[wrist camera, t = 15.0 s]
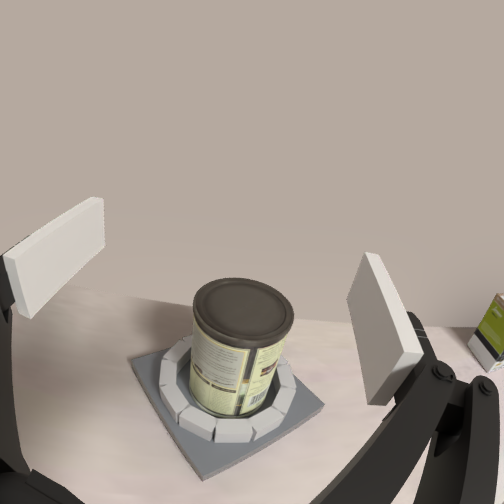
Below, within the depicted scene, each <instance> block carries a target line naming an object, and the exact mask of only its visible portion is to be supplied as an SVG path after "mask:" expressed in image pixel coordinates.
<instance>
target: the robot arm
mask: <svg viewBox="0 0 504 504" xmlns="http://www.w3.org/2000/svg"><path fill="white" fill-rule="evenodd" d="M104 247H105V235H104V200H103V198H97V197H91V198H89V199H87V200H85V201H84V202H82V203H80V204H78V205H77V206H75V207H74V208H72V209H70V210H69V211H67V212H65V213H64V214H62V215H60V216H59V217H57V218H56V219H54V220H53V221H51V222H49V223H48V224H47V225H45V226H43V227H42V228H40V229H39V230H37V231H36V232H34V233H33V234H31V235H29V236H27V237H26V238H25V239H23V240H22V241H21V242H19V243H17V244H16V246H13V247H12V248H10V249H9V250H8V251H6V252H5V253H4V254H2V255H1V256H0V504H85V503H83V502H82V501H81V500H80V499H78V498H77V497H76V496H75V495H73V494H72V493H71V492H70V491H69V490H67V489H66V488H65V487H63V486H61V485H60V484H58V483H56V482H54V481H52V480H51V479H49V478H47V477H46V476H44V475H42V474H41V473H39V472H37V471H36V470H34V469H32V471H31V472H30V469H29V467H28V465H27V463H26V461H25V460H24V458H23V455H22V453H21V448H20V443H19V437H18V431H17V424H16V416H15V408H14V397H13V384H12V360H11V336H12V310H11V307H10V306H11V305H12V304H13V303H14V302H15V303H16V306H17V309H18V312H19V314H21V315H23V316H25V317H27V318H29V319H31V318H32V317H33V316H34V315H35V314H36V313H37V312H38V311H39V310H40V309H41V308H42V307H43V306H44V305H45V304H46V303H47V302H48V301H49V299H50V298H51V297H52V296H53V295H54V294H55V293H56V292H57V291H58V290H59V289H60V288H61V287H62V286H63V285H64V284H65V283H66V282H67V281H68V280H70V278H72V277H73V275H75V274H76V273H77V272H78V271H79V270H80V269H81V268H82V267H83V266H84V265H85V264H86V263H87V262H88V261H90V260H91V259H92V258H93V257H94V256H95V255H96V254H97V253H98V252H99V251H100V250H102V249H103V248H104ZM347 303H348V307H349V311H350V315H351V320H352V325H353V330H354V334H355V339H356V344H357V349H358V354H359V359H360V364H361V370H362V375H363V381H364V387H365V392H366V399H367V405H381V406H386V405H387V404H388V402H389V401H390V400H391V399H392V397H393V396H394V399H395V403H396V405H395V406H394V407H393V408H392V410H391V411H390V412H389V413H388V414H387V415H386V417H385V418H384V419H383V420H382V421H383V422H382V423H381V424H380V426H379V427H378V428H377V430H376V431H375V432H374V433H373V435H372V436H371V437H370V438H369V440H368V441H367V442H366V443H365V445H364V446H363V447H362V448H361V449H360V451H359V452H358V453H357V454H356V455H355V456H354V458H353V459H352V460H351V461H350V462H349V463H348V464H347V465H346V467H345V468H344V469H343V470H342V471H341V472H340V473H339V474H338V475H337V476H336V477H335V478H334V480H333V481H332V482H331V483H330V484H329V485H328V486H327V487H326V488H325V489H324V490H323V491H322V492H321V493H320V494H319V495H318V496H317V497H316V498H315V499H313V500H312V501H311V502H310V503H309V504H391V502H392V501H393V500H394V498H395V497H396V495H397V494H398V492H399V491H400V489H401V488H402V486H403V485H404V483H405V482H406V480H407V478H408V477H409V475H410V474H411V472H412V470H413V469H414V467H415V465H416V464H417V462H418V460H419V459H420V457H421V455H422V453H423V451H424V450H425V448H426V446H427V444H428V442H429V440H430V438H431V442H430V446H429V450H428V455H427V459H426V463H425V466H424V470H423V474H422V477H421V481H420V484H419V487H418V490H417V494H416V497H415V500H414V503H413V504H494V501H495V494H496V486H497V476H498V465H499V445H500V413H499V394H498V389H497V387H496V386H495V384H494V382H492V380H490V379H489V378H487V377H485V376H481V375H480V376H476V377H475V378H474V379H473V380H472V382H471V383H470V384H468V383H465V382H462V381H459V380H457V379H456V376H455V373H454V371H453V370H452V368H451V367H449V366H448V365H447V364H446V363H444V362H442V361H439V360H437V358H436V356H435V353H434V351H433V349H432V346H431V344H430V342H429V339H428V338H427V335H426V333H425V331H424V328H423V326H422V324H421V322H420V320H419V319H418V318H417V317H416V316H415V315H414V314H413V313H412V312H407V311H406V310H405V308H404V306H403V304H402V301H401V299H400V297H399V295H398V293H397V291H396V289H395V286H394V284H393V282H392V280H391V279H390V276H389V274H388V272H387V270H386V268H385V266H384V264H383V262H382V260H381V258H380V256H379V255H377V254H373V253H369V252H364V255H363V257H362V260H361V263H360V266H359V268H358V271H357V273H356V276H355V279H354V281H353V284H352V286H351V289H350V292H349V294H348V296H347Z"/></svg>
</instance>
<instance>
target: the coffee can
mask: <svg viewBox="0 0 504 504" xmlns="http://www.w3.org/2000/svg"><path fill="white" fill-rule="evenodd" d="M193 312H194V315H193V330H192V347H191V366H190V380H189V390H190V393H191V396H192V398H193V400H194V401H195V402H196V404H197V405H198V406H199V407H200V408H201V409H203V410H204V411H206V412H207V413H209V414H212V415H214V416H216V417H221V418H226V419H238V418H243V417H247V416H249V415H251V414H253V413H254V412H256V411H257V410H258V409H259V408H260V407H261V406H262V404H263V403H264V401H265V399H266V394H267V391H268V389H269V386H270V383H271V380H272V378H273V375H274V372H275V369H276V366H277V363H278V361H279V358H280V355H281V352H282V349H283V346H284V343H285V340H286V337H287V334H288V332H289V330H290V329H291V326H292V324H293V320H294V312H293V308H292V306H291V304H290V302H289V301H288V300H287V299H286V298H285V297H284V296H283V295H282V294H281V293H280V292H279V291H277V290H276V289H274V288H272V287H271V286H268V285H266V284H264V283H261V282H258V281H255V280H250V279H244V278H223V279H218V280H215V281H212V282H209V283H207V284H206V285H204V286H203V287H201V288H200V289H199V290H198V291H197V293H196V295H195V297H194V300H193Z"/></svg>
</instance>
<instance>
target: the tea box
mask: <svg viewBox="0 0 504 504" xmlns="http://www.w3.org/2000/svg"><path fill="white" fill-rule="evenodd" d="M467 346H468V347H469V349H470V350H471V351H472V353H473V354H474V355H475V357H476V358H477V359H478V361H479V362H480V364H481V365H482V366H483V368H484V369H485V370H486V372H487V373H489V372H492V371H495V370H498V369H501V368H504V293H502V294H499V293H497V294H496V296H495V297H494V299H493V301H492V303H491V305H490V307H489V309H488V310H487V312H486V314H485V315H484V317H483V319H482V321H481V322H480V324H479V326H478V327H477V329H476V331H475V332H474V334H473V336H472V337H471V339H470V340H469V342H468V344H467Z"/></svg>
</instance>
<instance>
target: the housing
mask: <svg viewBox="0 0 504 504" xmlns="http://www.w3.org/2000/svg"><path fill="white" fill-rule="evenodd" d="M191 347H192V335H189V336H186V337H183V338H182V340H180V339H179V340H178V341H177V343H176V344H175V345H174V346H173V347H171V348H168V349H165V350H162V351H159V352H155V353H152V354H149V355H146V356H142V357H139V358H136V359H132V360H131V361H132V367H133V370H134V372H135V374H136V376H137V378H138V380H139V382H140V384H141V385H142V387H143V389H144V391H145V393H146V395H147V396H148V398H149V400H150V402H151V403H152V405H153V407H154V409H155V410H156V412H157V414H158V415H159V417H160V419H161V420H162V422H163V424H164V425H165V427H166V429H167V430H168V432H169V433H170V435H171V437H172V438H173V440H174V441H175V443H176V444H177V446H178V447H179V449H180V450H181V452H182V453H183V455H184V456H185V458H186V459H187V461H188V462H189V463H190V465H191V466H192V468H193V469H194V471H195V472H196V473H197V475H198V476H199V477H200V479H201V480H202V481H204V480H206V479H208V478H210V477H212V476H214V475H216V474H218V473H220V472H222V471H224V470H226V469H228V468H230V467H232V466H234V465H236V464H238V463H239V462H241V461H243V460H245V459H247V458H248V457H250V456H252V455H254V454H255V453H257V452H259V451H261V450H262V449H264V448H266V447H267V446H269V445H271V444H272V443H274V442H276V441H277V440H279V439H280V438H282V437H284V436H285V435H287V434H288V433H290V432H291V431H293V430H294V429H296V428H297V427H299V426H300V425H302V424H303V423H305V422H306V421H308V420H309V419H311V418H312V417H314V416H315V415H316V414H318V413H319V412H320V411H321V410H322V408H323V406H324V405H325V404H324V403H323V402H322V401H321V400H320V399H319V398H318V397H317V396H315V395H314V394H313V393H312V392H311V391H310V390H309V389H308V388H307V387H306V386H305V385H304V384H303V383H302V382H301V381H300V380H299V379H298V378H297V377H296V376H294V375H293V373H292V370H291V366H290V364H288V361H287V360H286V359H285V358H284V357H283V356H282V355H280V358H279V361H278V363H277V366H276V369H275V372H274V375H273V378H272V380H271V383H270V386H269V389H268V391H267V394H266V399H265V401H264V403H263V404H262V406H261V407H260V408H259V409H258V410H257V411H256V412H254V413H253V414H251V415H249V416H247V417H243V418H238V419H226V418H221V417H216V416H214V415H212V414H209V413H207V412H206V411H204V410H203V409H201V408H200V407H199V406H198V405H197V404H196V402H195V401H194V400H193V398H192V396H191V393H190V390H189V380H190V366H191Z"/></svg>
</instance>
